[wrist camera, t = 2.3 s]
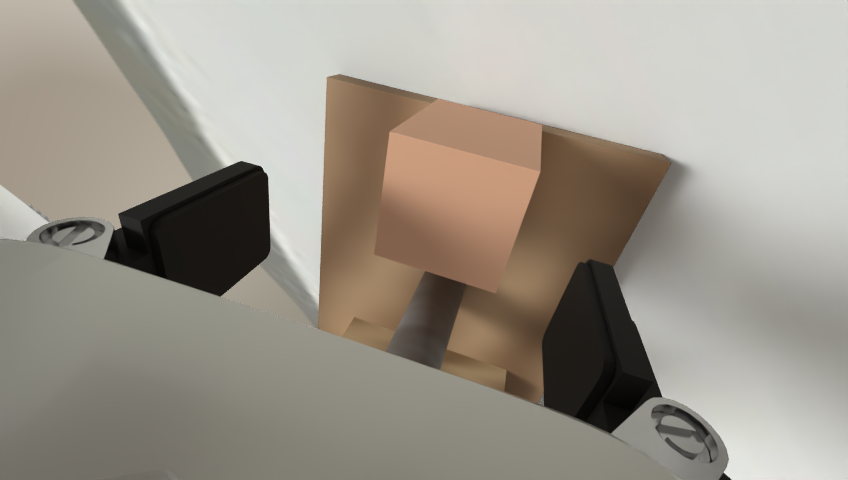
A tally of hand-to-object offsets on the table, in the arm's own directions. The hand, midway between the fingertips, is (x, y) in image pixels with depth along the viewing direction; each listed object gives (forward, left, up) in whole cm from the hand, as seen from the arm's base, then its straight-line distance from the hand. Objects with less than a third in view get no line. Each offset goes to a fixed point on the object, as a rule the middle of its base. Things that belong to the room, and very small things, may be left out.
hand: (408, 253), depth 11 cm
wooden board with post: (-1, +9, -9) cm, 13 cm away
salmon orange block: (-1, -1, -8) cm, 8 cm away
